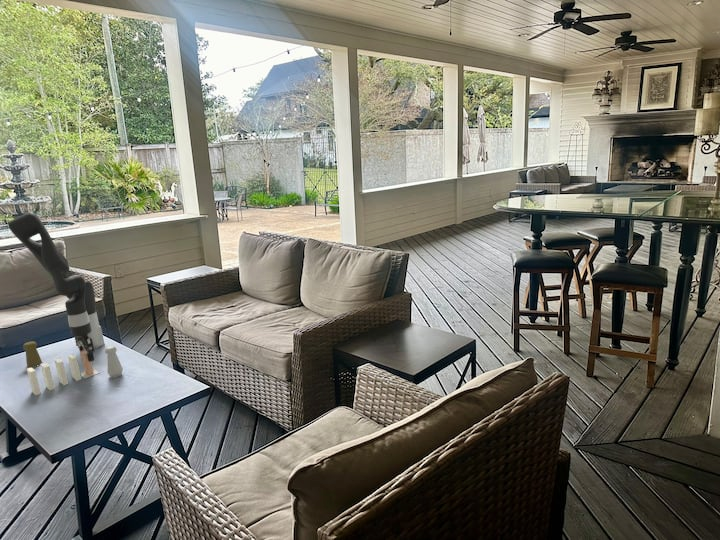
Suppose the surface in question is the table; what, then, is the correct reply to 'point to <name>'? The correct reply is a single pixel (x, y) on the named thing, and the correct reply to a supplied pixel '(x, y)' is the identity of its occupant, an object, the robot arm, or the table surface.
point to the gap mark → (88, 375)
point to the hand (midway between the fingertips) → (87, 358)
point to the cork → (32, 354)
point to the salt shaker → (113, 362)
